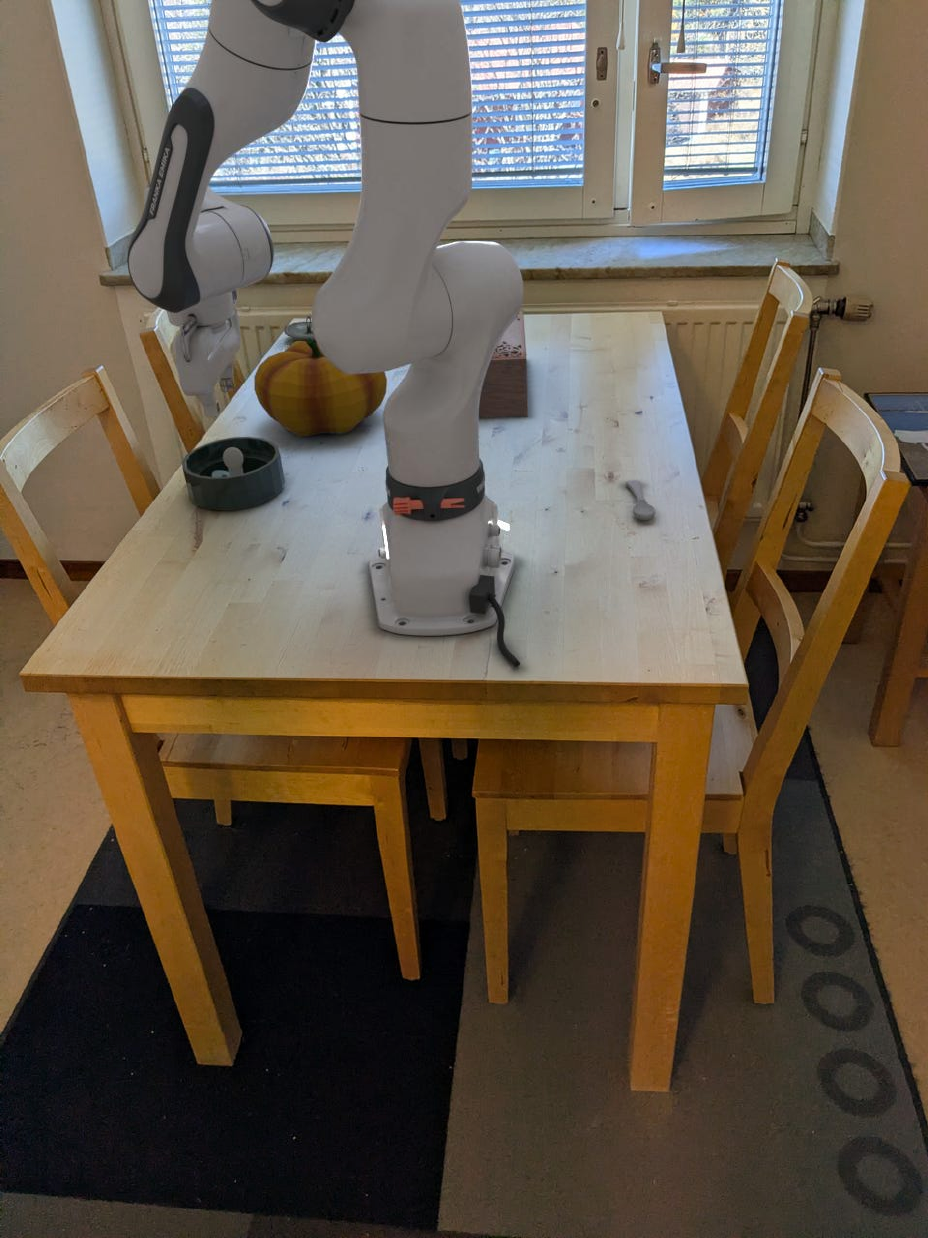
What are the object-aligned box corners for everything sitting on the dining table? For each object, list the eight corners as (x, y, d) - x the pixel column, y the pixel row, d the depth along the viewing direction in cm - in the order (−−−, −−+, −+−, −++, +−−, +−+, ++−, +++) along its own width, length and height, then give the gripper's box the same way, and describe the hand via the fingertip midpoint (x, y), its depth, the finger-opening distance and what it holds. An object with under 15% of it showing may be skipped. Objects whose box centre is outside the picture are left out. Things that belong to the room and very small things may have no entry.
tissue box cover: (527, 416, 164) (526, 358, 159) (441, 420, 165) (437, 362, 160) (524, 361, 186) (523, 309, 180) (448, 365, 186) (444, 312, 181)
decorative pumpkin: (390, 442, 159) (380, 352, 150) (254, 452, 159) (236, 362, 150) (391, 395, 175) (382, 311, 167) (268, 404, 175) (253, 321, 167)
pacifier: (256, 499, 144) (266, 479, 149) (248, 461, 141) (258, 442, 145) (207, 499, 145) (219, 480, 150) (198, 461, 141) (210, 443, 146)
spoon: (635, 524, 132) (635, 511, 131) (621, 490, 143) (621, 477, 142) (657, 523, 132) (658, 509, 131) (641, 488, 143) (642, 476, 142)
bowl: (275, 511, 142) (269, 476, 139) (179, 514, 142) (170, 480, 139) (292, 467, 153) (286, 434, 150) (203, 471, 154) (195, 438, 151)
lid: (283, 342, 207) (274, 321, 204) (324, 321, 209) (315, 300, 206) (301, 358, 200) (292, 336, 196) (343, 336, 202) (335, 314, 198)
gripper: (203, 327, 123) (226, 430, 131) (239, 282, 140) (257, 376, 148) (154, 330, 124) (179, 432, 131) (195, 285, 141) (216, 378, 148)
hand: (221, 402), depth 140 cm, fingers open, 8 cm apart
